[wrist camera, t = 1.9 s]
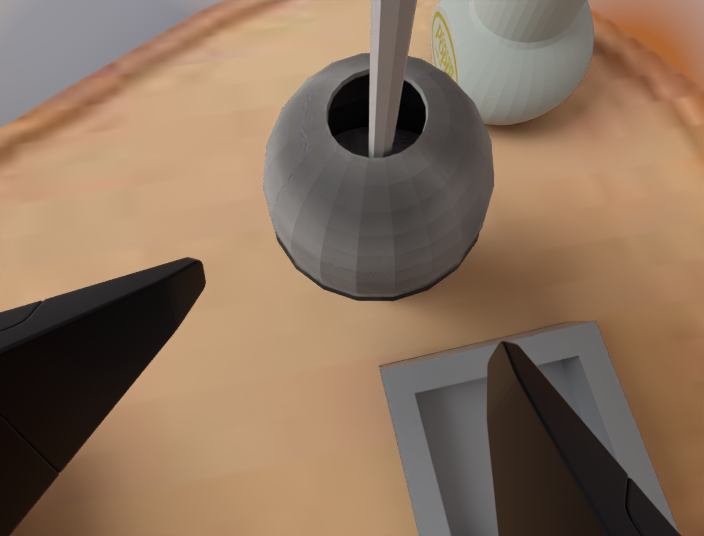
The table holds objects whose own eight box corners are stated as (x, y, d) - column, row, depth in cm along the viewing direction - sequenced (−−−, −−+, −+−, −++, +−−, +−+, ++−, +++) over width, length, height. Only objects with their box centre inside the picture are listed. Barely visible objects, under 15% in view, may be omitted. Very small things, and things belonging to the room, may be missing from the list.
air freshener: (420, 35, 25) (450, -153, 15) (521, 14, 25) (618, -190, 15) (451, 154, 23) (510, 23, 13) (563, 133, 23) (708, -17, 13)
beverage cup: (416, 207, 22) (743, -711, 3) (436, 308, 21) (1547, -62, 1) (317, 223, 22) (-65, -499, 3) (329, 324, 21) (-287, 245, 1)
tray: (651, 542, 17) (696, 577, 15) (432, 590, 18) (442, 631, 15) (568, 321, 20) (595, 320, 17) (379, 365, 20) (380, 370, 18)
